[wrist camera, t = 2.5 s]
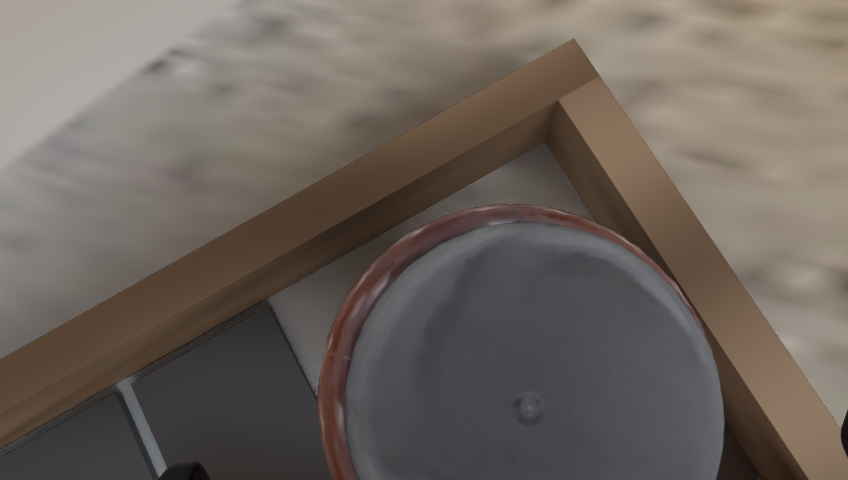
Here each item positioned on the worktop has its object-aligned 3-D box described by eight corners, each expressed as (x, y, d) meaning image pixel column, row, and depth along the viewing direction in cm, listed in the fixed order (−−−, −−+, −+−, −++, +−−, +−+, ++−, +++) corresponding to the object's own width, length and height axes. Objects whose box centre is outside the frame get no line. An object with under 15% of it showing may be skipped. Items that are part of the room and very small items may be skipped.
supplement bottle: (605, 508, 17) (857, 779, 6) (380, 491, 17) (213, 710, 6) (606, 281, 18) (816, 143, 7) (394, 272, 18) (274, 130, 7)
